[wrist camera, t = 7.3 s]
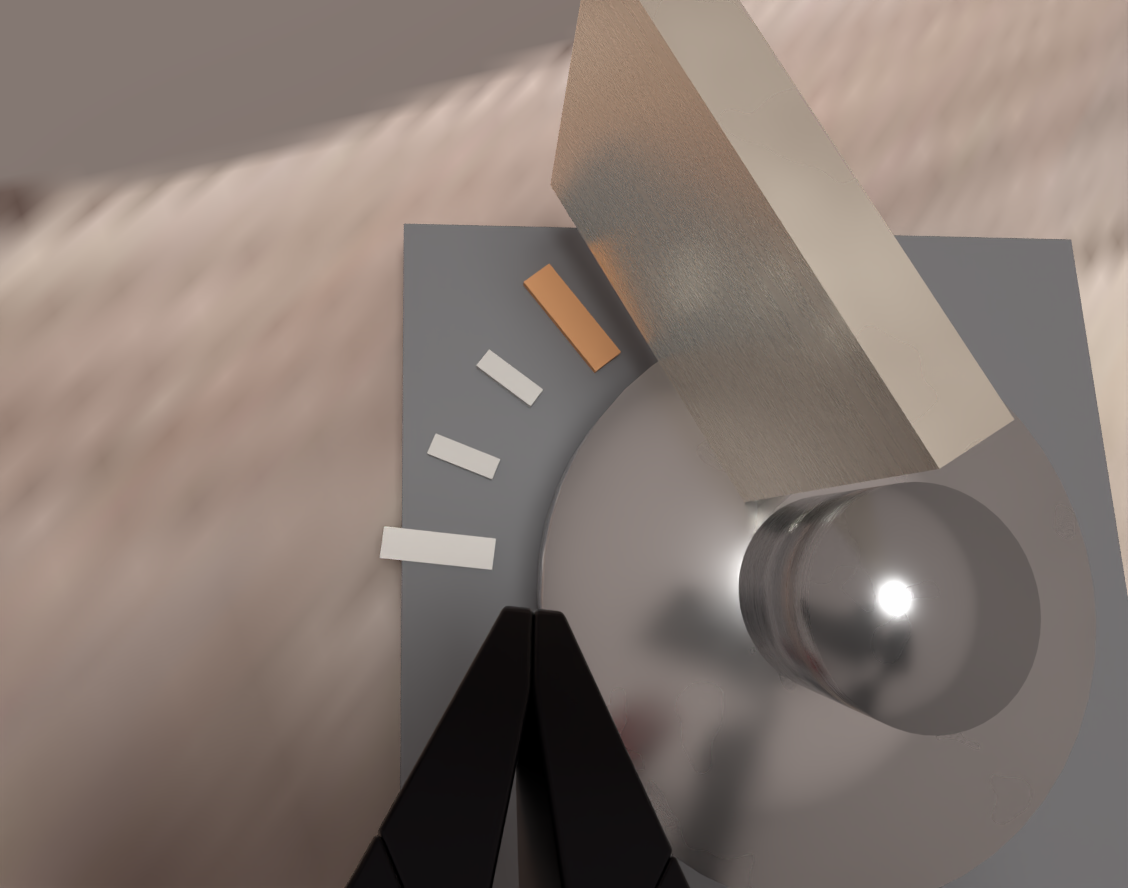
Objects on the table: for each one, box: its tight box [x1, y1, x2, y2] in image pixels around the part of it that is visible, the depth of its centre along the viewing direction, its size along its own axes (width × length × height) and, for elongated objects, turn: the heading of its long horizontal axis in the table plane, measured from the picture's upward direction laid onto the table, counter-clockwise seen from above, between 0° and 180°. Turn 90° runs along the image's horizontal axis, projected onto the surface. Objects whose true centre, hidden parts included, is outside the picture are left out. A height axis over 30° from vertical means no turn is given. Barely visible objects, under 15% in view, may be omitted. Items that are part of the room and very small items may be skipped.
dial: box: [537, 0, 1096, 888], centre depth 12 cm, size 16×12×8 cm
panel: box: [380, 224, 1128, 888], centre depth 16 cm, size 18×18×1 cm
